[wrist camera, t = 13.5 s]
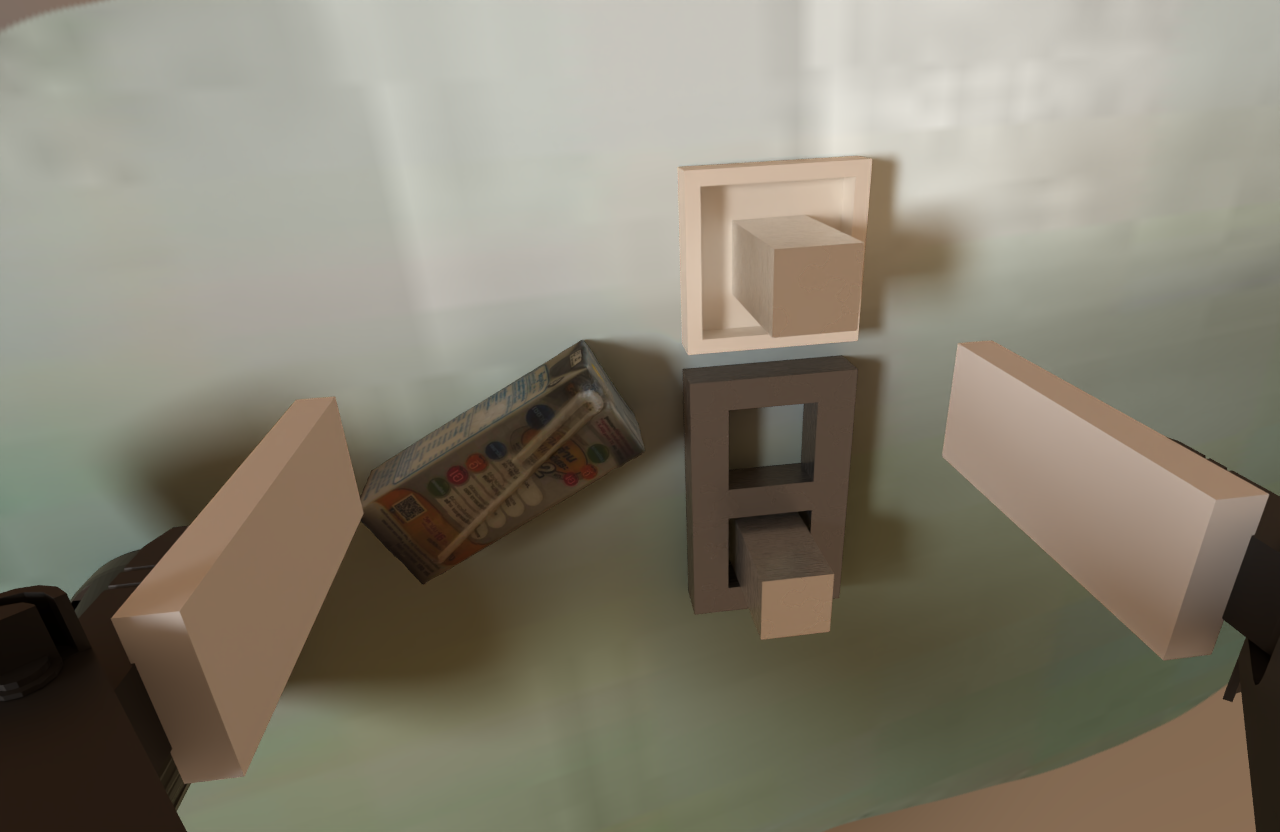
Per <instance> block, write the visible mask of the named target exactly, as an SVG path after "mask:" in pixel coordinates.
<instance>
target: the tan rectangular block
mask: <svg viewBox="0 0 1280 832" xmlns="http://www.w3.org/2000/svg"><path fill="white" fill-rule="evenodd" d="M863 252H864V242H862V241H860V240H858V239H856V238H853V237H851V236H849V235H847V234H845V233H843V232H841V231H838V230H836V229H834V228H832V227H830V226H828V225H826V224H823V223H821V222H819V221H817V220H815V219H813V218H811V217H808V216H806V215H798V216H784V217H770V218H756V219H742V220H732V295H733V296H734V297H735V298H736V299H737V300H738V301H739V302H740V303H741V304H742V305H743V307H744V308H745V309H746V310H747V311H748V312H749V313H750V314H751V315H752V316H753V318H754V319H755V320H756V321H757V322H758V323H759V324H760V325H761V326H762V327H763V329H764V330H765V331H766V332H767V333H768V334H769V335H770V336H771V337H772V338H777V337H789V336H800V335H812V334H824V333H836V332H847V331H857V330H858V317H859V304H860V291H861V278H862V265H863Z"/></svg>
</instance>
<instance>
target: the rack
mask: <svg viewBox="0 0 1280 832" xmlns="http://www.w3.org/2000/svg"><path fill="white" fill-rule="evenodd" d="M857 373H858V369H857V368H856V367H854V366H853V365H852V364H851V363H850V362H849V361H848V360H847V359H845V358H844V357H843V356H831V357H819V358H807V359H796V360H784V361H772V362H761V363H749V364H737V365H726V366H714V367H702V368H691V369H683V404H684V443H685V482H686V520H687V559H688V592H689V595H690V599H691V603H692V606H693V610H694V614H703V613H712V612H721V611H730V610H739V609H747V608H748V605H747V602H746V600H745V597H744V595H743V592H742V589H741V587H740V584H739V582H738V579H737V576H736V574H735V571H734V569H733V566H732V565H728V519H730V518H740V517H749V516H759V515H769V514H778V513H788V512H798V511H799V512H798V514H799V515H800V517H801V519H802V520H803V522H804V524H805V525H806V527H807V529H808V531H809V532H810V534H811V536H812V537H813V539H814V541H815V542H816V544H817V546H818V547H819V549H820V551H821V553H822V554H823V556H824V558H825V559H826V561H827V563H828V564H829V566H830V568H831V569H832V571H833V573H834V582H833V596H832V599H835V598H839V593H840V581H841V569H842V557H843V544H844V532H845V520H846V508H847V496H848V483H849V471H850V459H851V447H852V434H853V422H854V410H855V398H856V386H857ZM793 404H804V411H803V431H802V452H801V463H796V464H786V465H776V466H766V467H756V468H745V469H735V470H729V410H738V409H749V408H760V407H771V406H782V405H793Z"/></svg>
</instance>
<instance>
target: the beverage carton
mask: <svg viewBox="0 0 1280 832" xmlns="http://www.w3.org/2000/svg"><path fill="white" fill-rule="evenodd" d="M644 451H645V448H644V445H643V442H642V439H641V433H640V429H639V424H638V422H637V421H636V419H635V415H634V414H633V412H632V411H631V410H630V408H629V407H628V406H627V404H626V403H625V401H624V400H623V399H622V397H621V396H620V394H619V393H618V391H617V390H616V388H615V387H614V385H613V384H612V382H611V381H610V379H609V377H608V376H607V375H606V373H605V371H604V370H603V368H602V367H601V365H600V364H599V362H598V361H597V359H596V358H595V356H594V354H593V353H592V351H591V350H590V348H589V347H588V345H587V344H586V343H585V341H583V340H581V341H579V342H578V343H576V344H574V345H573V346H571V347H569V348H568V349H566V350H564V351H563V352H561V353H560V354H558V355H557V356H555V357H554V358H552V359H551V360H549V361H547V362H546V363H544V364H543V365H541V366H539V367H538V368H536V369H534V370H533V371H531V372H529V373H528V374H526V375H524V376H523V377H521V378H519V379H518V380H516V381H515V382H513V383H511V384H510V385H508V386H507V387H505V388H503V389H502V390H500V391H499V392H497V393H495V394H494V395H492V396H490V397H489V398H487V399H486V400H484V401H482V402H481V403H479V404H477V405H476V406H474V407H472V408H471V409H469V410H467V411H466V412H464V413H462V414H461V415H459V416H457V417H456V418H454V419H453V420H451V421H449V422H448V423H446V424H445V425H443V426H441V427H440V428H438V429H436V430H435V431H433V432H432V433H430V434H428V435H427V436H425V437H424V438H422V439H420V440H419V441H417V442H416V443H414V444H413V445H411V446H409V447H408V448H406V449H405V450H403V451H402V452H400V453H398V454H397V455H395V456H394V457H393V458H391V459H389V460H387V461H386V462H384V463H383V464H382V465H381V466H379V467H377V468H376V469H374V470H372V471H371V473H370V476H369V478H368V481H367V483H366V485H365V487H364V489H363V492H362V495H361V496H360V500H361V504H362V509H363V513H364V514H363V516H362V518H361V520H360V521H362V523H363V524H364V525H365V526H367V527H368V528H369V529H370V530H371V531H372V532H373V534H374V535H375V536H376V537H377V538H378V539H379V540H380V541H381V542H382V543H383V544H384V546H385V547H386V548H387V549H388V550H389V551H390V552H391V553H392V554H393V555H394V556H395V557H397V558H398V559H399V560H400V561H401V562H402V563H403V564H404V565H405V566H406V567H407V568H408V570H409V571H410V572H411V573H412V574H413V575H414V576H415V577H416V578H417V579H418V580H419V581H420V582H421V583H422V584H423V585H424V584H425V583H426V582H427V581H429V580H431V579H433V578H434V577H437V576H439V575H441V574H443V573H444V572H446V571H447V570H449V569H451V568H452V567H454V566H455V565H457V564H459V563H461V562H462V561H464V560H466V559H467V558H469V557H471V556H472V555H474V554H476V553H477V552H479V551H481V550H482V549H484V548H486V547H487V546H489V545H491V544H492V543H494V542H496V541H497V540H499V539H501V538H502V537H504V536H505V535H507V534H509V533H510V532H512V531H514V530H515V529H517V528H519V527H520V526H522V525H524V524H525V523H527V522H529V521H530V520H532V519H534V518H535V517H537V516H539V515H541V514H542V513H544V512H546V511H547V510H549V509H550V508H552V507H554V506H555V505H557V504H559V503H560V502H562V501H564V500H565V499H567V498H569V497H570V496H572V495H574V494H575V493H577V492H578V491H580V490H582V489H583V488H585V487H587V486H588V485H590V484H592V483H593V482H595V481H596V480H598V479H600V478H601V477H603V476H605V475H606V474H607V473H609V472H610V471H611V470H613V469H615V468H618V467H621V466H622V465H624V464H625V463H626V462H628V461H630V460H632V459H634V458H636V457H638V456H639V455H641V454H642V453H644Z"/></svg>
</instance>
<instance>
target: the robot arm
mask: <svg viewBox="0 0 1280 832" xmlns="http://www.w3.org/2000/svg"><path fill="white" fill-rule="evenodd" d="M942 457H943V458H944V459H946V460H947V461H948V462H949V463H950V464H951V465H952V466H953V467H954V468H955V469H956V470H958V471H959V472H960V473H961V474H962V475H963V476H964V477H965V478H966V479H967V480H968V481H969V482H971V483H972V484H973V485H974V486H975V487H976V488H977V489H978V490H979V491H980V492H981V493H982V494H984V495H985V496H986V497H987V498H988V499H989V500H990V501H991V502H992V503H993V504H994V505H995V506H997V507H998V508H999V509H1000V510H1001V511H1002V512H1003V513H1004V514H1005V515H1006V516H1007V517H1008V518H1010V519H1011V520H1012V521H1013V522H1014V523H1015V524H1016V525H1017V526H1018V527H1019V528H1020V529H1022V530H1023V531H1024V532H1025V533H1026V534H1027V535H1028V536H1029V537H1030V538H1031V539H1032V540H1033V541H1035V542H1036V543H1037V544H1038V545H1039V546H1040V547H1041V548H1042V549H1043V550H1044V551H1045V552H1046V553H1048V554H1049V555H1050V556H1051V557H1052V558H1053V559H1054V560H1055V561H1056V562H1057V563H1058V564H1059V565H1061V566H1062V567H1063V568H1064V569H1065V570H1066V571H1067V572H1068V573H1069V574H1070V575H1071V576H1073V577H1074V578H1075V579H1076V580H1077V581H1078V582H1079V583H1080V584H1081V585H1082V586H1083V587H1084V588H1086V589H1087V590H1088V591H1089V592H1090V593H1091V594H1092V595H1093V596H1094V597H1095V598H1096V599H1097V600H1099V601H1100V602H1101V603H1102V604H1103V605H1104V606H1105V607H1106V608H1107V609H1108V610H1109V611H1110V612H1112V613H1113V614H1114V615H1115V616H1116V617H1117V618H1118V619H1119V620H1120V621H1121V622H1122V623H1123V624H1125V625H1126V626H1127V627H1128V628H1129V629H1130V630H1131V631H1132V632H1133V633H1134V634H1135V635H1137V636H1138V637H1139V638H1140V639H1141V640H1142V641H1143V642H1144V643H1145V644H1146V645H1147V646H1148V647H1150V648H1151V649H1152V650H1153V651H1154V652H1155V653H1156V654H1157V655H1158V656H1159V657H1160V658H1161V659H1163V660H1170V659H1178V658H1186V657H1194V656H1202V655H1210V654H1212V651H1213V649H1214V646H1215V643H1216V640H1217V638H1218V635H1219V632H1220V629H1221V627H1222V624H1223V621H1224V620H1225V621H1226V622H1227V623H1229V624H1230V625H1231V626H1232V627H1234V628H1235V629H1236V630H1238V631H1239V632H1240V633H1241V634H1243V635H1244V636H1245V637H1246V639H1245V641H1244V644H1243V646H1242V649H1241V652H1240V654H1239V657H1238V659H1237V662H1236V665H1235V667H1234V670H1233V672H1232V675H1231V678H1230V680H1229V683H1228V686H1227V688H1226V691H1225V694H1224V697H1223V699H1225V700H1228V701H1231V702H1232V701H1233V699H1234V697H1235V694H1236V693H1238V692H1241V693H1242V703H1243V712H1244V721H1245V730H1246V739H1247V750H1248V759H1249V768H1250V777H1251V787H1252V797H1253V806H1254V815H1255V825H1256V832H1280V496H1278V495H1276V494H1274V493H1272V492H1270V491H1269V490H1267V489H1265V488H1263V487H1261V486H1260V485H1258V484H1256V483H1254V482H1252V481H1250V480H1249V479H1247V478H1245V477H1243V476H1241V475H1240V474H1238V473H1236V472H1234V471H1227V467H1225V466H1223V465H1221V464H1220V463H1218V462H1216V461H1214V460H1212V459H1206V458H1205V455H1203V454H1201V453H1199V452H1198V451H1196V450H1194V449H1192V448H1190V447H1189V446H1187V445H1185V444H1183V443H1181V442H1179V441H1177V440H1174V439H1171V438H1168V437H1165V436H1163V435H1161V434H1160V433H1158V432H1156V431H1154V430H1152V429H1151V428H1149V427H1147V426H1145V425H1143V424H1142V423H1140V422H1138V421H1136V420H1134V419H1133V418H1131V417H1129V416H1127V415H1125V414H1124V413H1122V412H1120V411H1118V410H1116V409H1115V408H1113V407H1111V406H1109V405H1107V404H1105V403H1104V402H1102V401H1100V400H1098V399H1096V398H1095V397H1093V396H1091V395H1089V394H1087V393H1086V392H1084V391H1082V390H1080V389H1078V388H1077V387H1075V386H1073V385H1071V384H1069V383H1068V382H1066V381H1064V380H1062V379H1060V378H1059V377H1057V376H1055V375H1053V374H1051V373H1050V372H1048V371H1046V370H1044V369H1042V368H1041V367H1039V366H1037V365H1035V364H1033V363H1031V362H1030V361H1028V360H1026V359H1024V358H1022V357H1021V356H1019V355H1017V354H1015V353H1013V352H1012V351H1010V350H1008V349H1006V348H1004V347H1003V346H1001V345H999V344H997V343H995V342H994V341H992V340H991V341H979V342H968V343H958V347H957V354H956V361H955V368H954V375H953V382H952V389H951V396H950V404H949V411H948V418H947V425H946V432H945V439H944V446H943V453H942ZM363 514H364V513H363V509H362V504H361V500H360V496H359V492H358V488H357V484H356V480H355V476H354V472H353V467H352V463H351V459H350V455H349V451H348V447H347V443H346V439H345V435H344V430H343V426H342V422H341V418H340V414H339V410H338V406H337V402H336V398H335V397H323V398H311V399H300V400H295V402H294V403H293V404H292V405H291V406H290V408H289V409H288V410H287V411H286V412H285V413H284V415H283V416H282V417H281V418H280V419H279V421H278V422H277V423H276V424H275V425H274V426H273V428H272V429H271V430H270V431H269V432H268V434H267V435H266V436H265V437H264V438H263V439H262V441H261V442H260V443H259V444H258V445H257V447H256V448H255V449H254V450H253V451H252V452H251V454H250V455H249V456H248V457H247V458H246V459H245V461H244V462H243V463H242V464H241V465H240V467H239V468H238V469H237V470H236V471H235V472H234V474H233V475H232V476H231V477H230V478H229V480H228V481H227V482H226V483H225V484H224V485H223V487H222V488H221V489H220V490H219V491H218V493H217V494H216V495H215V496H214V497H213V498H212V500H211V501H210V502H209V503H208V504H207V506H206V507H205V508H204V509H203V510H202V511H201V513H200V514H199V515H198V516H197V517H196V519H195V520H194V521H193V522H192V523H191V524H190V526H182V527H173V528H172V529H170V530H169V531H167V532H166V533H164V534H162V535H161V536H159V537H158V538H156V539H155V540H153V541H152V542H150V543H149V544H147V545H146V546H144V547H143V548H142V549H141V550H137V551H134V552H130V553H127V554H124V555H122V556H119V557H117V558H115V559H113V560H111V561H109V562H108V563H106V564H105V565H103V566H102V567H101V568H99V569H98V570H97V571H96V572H95V573H94V574H93V575H92V576H91V577H90V578H89V579H88V580H87V581H86V582H85V583H84V584H83V585H82V587H81V588H80V589H79V590H78V591H77V592H76V593H75V594H74V596H73V597H72V599H71V600H69V598H68V596H67V594H66V593H65V592H64V591H62V590H61V589H60V588H58V587H55V586H42V585H37V586H30V587H24V588H18V589H13V590H10V591H7V592H3V593H0V832H187V831H186V829H185V827H184V825H183V823H182V821H181V820H180V818H179V816H178V814H177V810H178V808H179V806H180V804H181V802H182V800H183V798H184V796H185V794H186V792H187V790H188V788H189V786H190V784H191V783H195V782H203V781H211V780H219V779H227V778H235V777H243V776H245V774H246V772H247V769H248V767H249V765H250V763H251V761H252V758H253V756H254V754H255V752H256V750H257V747H258V745H259V743H260V741H261V738H262V736H263V734H264V732H265V730H266V727H267V725H268V723H269V721H270V719H271V716H272V714H273V712H274V710H275V708H276V705H277V703H278V701H279V699H280V697H281V694H282V692H283V690H284V688H285V686H286V683H287V681H288V679H289V677H290V675H291V672H292V670H293V668H294V666H295V664H296V661H297V659H298V657H299V655H300V652H301V650H302V648H303V646H304V644H305V641H306V639H307V637H308V635H309V633H310V630H311V628H312V626H313V624H314V622H315V619H316V617H317V615H318V613H319V611H320V608H321V606H322V604H323V602H324V600H325V597H326V595H327V593H328V591H329V589H330V586H331V584H332V582H333V580H334V578H335V575H336V573H337V571H338V569H339V567H340V564H341V562H342V560H343V558H344V555H345V553H346V551H347V549H348V547H349V544H350V542H351V540H352V538H353V536H354V533H355V531H356V529H357V527H358V525H359V522H360V520H361V518H362V516H363Z"/></svg>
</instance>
